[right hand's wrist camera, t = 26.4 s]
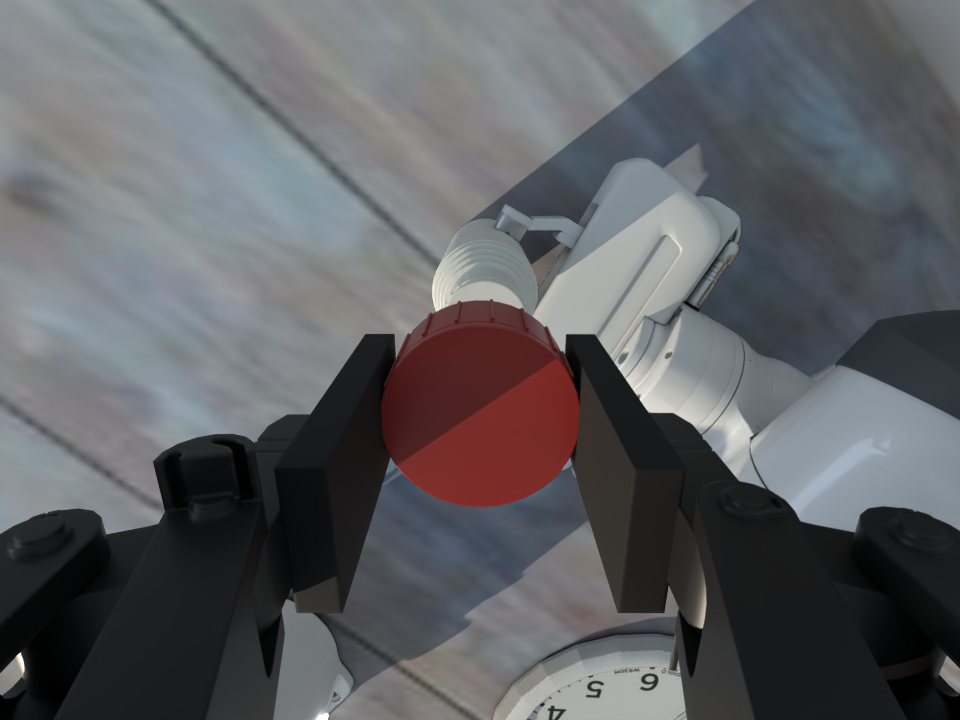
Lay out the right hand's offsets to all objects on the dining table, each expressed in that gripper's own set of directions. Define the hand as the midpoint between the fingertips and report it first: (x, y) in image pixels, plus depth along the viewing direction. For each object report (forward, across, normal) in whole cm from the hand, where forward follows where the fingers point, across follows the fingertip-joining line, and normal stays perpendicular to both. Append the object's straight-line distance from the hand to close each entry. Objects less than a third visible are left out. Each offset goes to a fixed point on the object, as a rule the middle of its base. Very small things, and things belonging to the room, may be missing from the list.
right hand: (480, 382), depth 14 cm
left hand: (+19, 0, 0) cm, 19 cm away
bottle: (+26, 0, -1) cm, 26 cm away
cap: (-2, 0, 0) cm, 2 cm away
